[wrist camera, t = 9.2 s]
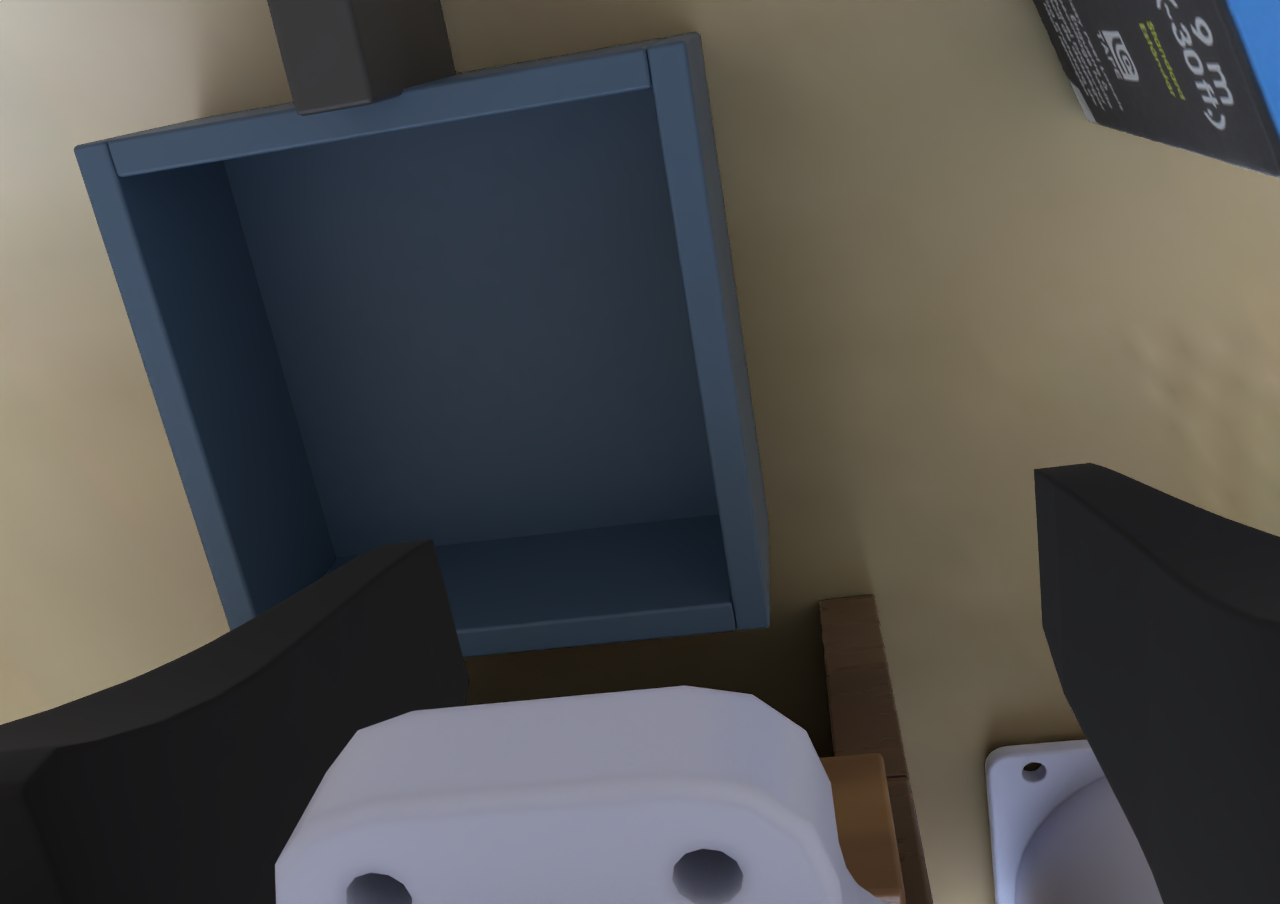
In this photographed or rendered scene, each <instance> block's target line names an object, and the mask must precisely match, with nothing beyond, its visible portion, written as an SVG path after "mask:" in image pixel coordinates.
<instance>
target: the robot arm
mask: <svg viewBox="0 0 1280 904" xmlns="http://www.w3.org/2000/svg"><path fill="white" fill-rule="evenodd" d="M1034 478H1035V496H1036V515H1037V533H1038V551H1039V569H1040V587H1041V606H1042V624H1043V629H1044V632H1045V635H1046V639H1047V642H1048V645H1049V648H1050V652H1051V655H1052V658H1053V661H1054V664H1055V667H1056V670H1057V673H1058V676H1059V679H1060V682H1061V685H1062V688H1063V691H1064V694H1065V696H1066V698H1067V700H1068V702H1069V704H1070V706H1071V709H1072V711H1073V713H1074V715H1075V717H1076V719H1077V721H1078V723H1079V725H1080V727H1081V729H1082V731H1083V733H1084V735H1085V737H1086V739H1085V740H1072V741H1060V742H1048V743H1036V744H1024V745H1012V746H1004V747H1000V748H997V749H995V750H994V751H992V752H991V753H990V754H989V756H988V757H987V759H986V762H985V775H986V788H987V800H988V813H989V826H990V839H991V852H992V864H993V877H994V890H995V903H996V904H1280V537H1278V536H1275V535H1272V534H1269V533H1266V532H1263V531H1260V530H1258V529H1255V528H1252V527H1249V526H1246V525H1243V524H1241V523H1238V522H1235V521H1232V520H1229V519H1227V518H1224V517H1222V516H1219V515H1216V514H1214V513H1211V512H1209V511H1206V510H1204V509H1201V508H1199V507H1196V506H1194V505H1192V504H1189V503H1187V502H1185V501H1182V500H1180V499H1178V498H1175V497H1173V496H1171V495H1168V494H1166V493H1164V492H1161V491H1159V490H1157V489H1155V488H1152V487H1150V486H1148V485H1146V484H1143V483H1141V482H1139V481H1137V480H1134V479H1132V478H1130V477H1127V476H1125V475H1123V474H1120V473H1118V472H1116V471H1113V470H1111V469H1108V468H1105V467H1102V466H1099V465H1096V464H1092V463H1085V464H1077V465H1068V466H1059V467H1051V468H1042V469H1034ZM468 685H469V679H468V675H467V671H466V667H465V663H464V659H463V655H462V651H461V647H460V643H459V639H458V636H457V632H456V628H455V624H454V620H453V616H452V612H451V608H450V604H449V600H448V596H447V592H446V588H445V584H444V580H443V576H442V572H441V568H440V564H439V560H438V556H437V553H436V549H435V545H434V541H433V539H429V540H420V541H411V542H403V543H394V544H386V545H383V546H381V547H378V548H375V549H373V550H371V551H368V552H366V553H364V554H363V555H361V556H359V557H357V558H355V559H353V560H351V561H349V562H348V563H346V564H344V565H343V566H341V567H339V568H337V569H336V570H334V571H332V572H331V573H329V574H327V575H326V576H324V577H322V578H321V579H319V580H317V581H316V582H314V583H312V584H311V585H309V586H307V587H306V588H304V589H302V590H301V591H299V592H297V593H296V594H294V595H293V596H291V597H289V598H288V599H286V600H284V601H283V602H281V603H279V604H278V605H276V606H274V607H273V608H271V609H269V610H267V611H265V612H264V613H262V614H260V615H258V616H257V617H255V618H253V619H251V620H249V621H248V622H246V623H244V624H242V625H241V626H239V627H237V628H235V629H233V630H232V631H230V632H228V633H226V634H225V635H223V636H221V637H219V638H217V639H216V640H214V641H212V642H210V643H208V644H206V645H204V646H202V647H200V648H198V649H196V650H194V651H192V652H190V653H188V654H186V655H184V656H182V657H180V658H178V659H176V660H174V661H171V662H169V663H167V664H165V665H163V666H160V667H158V668H156V669H154V670H151V671H149V672H147V673H145V674H143V675H140V676H138V677H136V678H133V679H131V680H128V681H126V682H124V683H121V684H118V685H116V686H113V687H110V688H107V689H105V690H102V691H99V692H97V693H94V694H91V695H88V696H86V697H83V698H80V699H78V700H75V701H72V702H70V703H67V704H64V705H61V706H59V707H56V708H53V709H50V710H47V711H44V712H41V713H38V714H35V715H31V716H28V717H25V718H22V719H18V720H15V721H12V722H9V723H5V724H2V725H0V904H895V903H890V902H885V901H882V900H880V899H878V898H876V897H875V896H873V895H872V894H871V893H869V892H868V891H866V890H865V889H863V888H862V887H861V886H859V885H858V884H857V883H856V882H855V880H854V878H853V877H852V875H851V874H850V872H849V871H848V869H847V868H846V865H845V861H844V858H843V855H842V851H841V848H840V845H839V841H838V833H837V826H836V818H835V811H834V803H833V796H832V788H831V782H830V780H829V778H828V776H827V774H826V772H825V770H824V767H823V765H822V763H821V761H820V759H819V757H818V755H817V753H816V751H815V748H814V746H813V744H812V742H811V740H810V738H809V736H808V734H807V731H806V730H804V729H803V728H801V727H800V726H798V725H797V724H795V723H794V722H793V721H791V720H790V719H788V718H787V717H785V716H784V715H782V714H781V713H779V712H778V711H776V710H775V709H773V708H772V707H770V706H769V705H767V704H766V703H764V702H763V701H761V700H760V699H758V698H757V697H755V696H754V695H753V694H745V693H738V692H730V691H723V690H715V689H708V688H700V687H693V686H674V687H663V688H653V689H642V690H631V691H620V692H610V693H599V694H588V695H578V696H567V697H556V698H545V699H535V700H524V701H513V702H503V703H492V704H481V705H470V706H464V704H465V700H466V695H467V690H468ZM1033 762H1035V763H1040V764H1042V765H1041V766H1040V767H1039V768H1038V769H1037V770H1034V771H1024V770H1023V768H1024V767H1025V766H1026V765H1027V764H1029V763H1033Z"/></svg>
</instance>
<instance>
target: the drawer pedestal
mask: <svg viewBox="0 0 1280 904" xmlns="http://www.w3.org/2000/svg"><path fill="white" fill-rule="evenodd" d="M819 607H820V617H821V627H822V638H823V648H824V658H825V669H826V679H827V689H828V699H829V710H830V720H831V730H832V741H833V751H834V757H822V758H819V759H820V761H821V763H822V765H823V767H824V770H825V772H826V774H827V776H828V778H829V780H830V782H831V788H832V796H833V803H834V811H835V818H836V826H837V833H838V841H839V845H840V848H841V851H842V855H843V858H844V861H845V865H846V868H847V869H848V871H849V872H850V874H851V875H852V877H853V878H854V880H855V882H856V883H857V884H858V885H859V886H861V887H862V888H863V889H865V890H866V891H868V892H869V893H871V894H872V895H873V896H875V897H876V898H878V899H880V900H882V901H885V902H890V903H895V904H933V901H932V895H931V890H930V885H929V880H928V874H927V869H926V864H925V859H924V853H923V848H922V843H921V838H920V832H919V827H918V822H917V816H916V811H915V806H914V801H913V795H912V790H911V785H910V781H909V773H908V768H907V763H906V758H905V752H904V747H903V742H902V737H901V731H900V726H899V721H898V716H897V710H896V705H895V700H894V695H893V689H892V684H891V679H890V674H889V668H888V663H887V658H886V653H885V647H884V642H883V637H882V632H881V626H880V621H879V616H878V611H877V606H876V600H875V596H874V595H868V596H858V597H848V598H839V599H829V600H821V601H820V602H819Z"/></svg>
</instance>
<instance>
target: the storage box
mask: <svg viewBox="0 0 1280 904" xmlns="http://www.w3.org/2000/svg"><path fill="white" fill-rule="evenodd" d="M267 2H268V5H269V9H270V13H271V17H272V21H273V25H274V29H275V33H276V36H277V40H278V44H279V48H280V52H281V56H282V60H283V63H284V67H285V71H286V75H287V79H288V83H289V87H290V90H291V94H292V98H293V102H291V103H286V104H280V105H274V106H269V107H263V108H257V109H251V110H246V111H240V112H234V113H228V114H223V115H217V116H211V117H206V118H200V119H195V120H190V121H186V122H181V123H177V124H172V125H168V126H163V127H159V128H154V129H150V130H145V131H140V132H136V133H131V134H127V135H122V136H118V137H113V138H109V139H104V140H100V141H95V142H91V143H86V144H82V145H77V146H76V147H75V148H74V152H75V155H76V158H77V161H78V164H79V167H80V171H81V174H82V177H83V180H84V183H85V186H86V189H87V192H88V195H89V198H90V201H91V204H92V207H93V210H94V213H95V217H96V220H97V223H98V226H99V229H100V232H101V235H102V238H103V241H104V244H105V247H106V250H107V253H108V256H109V259H110V262H111V266H112V269H113V272H114V275H115V278H116V281H117V284H118V287H119V290H120V293H121V296H122V299H123V302H124V305H125V308H126V311H127V315H128V318H129V321H130V324H131V327H132V330H133V333H134V336H135V339H136V342H137V345H138V348H139V351H140V354H141V357H142V360H143V364H144V367H145V370H146V373H147V376H148V379H149V382H150V385H151V388H152V391H153V394H154V397H155V400H156V403H157V406H158V410H159V413H160V416H161V419H162V422H163V425H164V428H165V431H166V434H167V437H168V440H169V443H170V446H171V449H172V452H173V455H174V459H175V462H176V465H177V468H178V471H179V474H180V477H181V480H182V483H183V486H184V489H185V492H186V495H187V498H188V501H189V504H190V508H191V511H192V514H193V517H194V520H195V523H196V526H197V529H198V532H199V535H200V538H201V541H202V544H203V547H204V550H205V553H206V557H207V560H208V563H209V566H210V569H211V572H212V575H213V578H214V581H215V584H216V587H217V590H218V593H219V596H220V599H221V603H222V606H223V609H224V612H225V615H226V618H227V621H228V624H229V627H230V630H231V631H232V630H233V629H235V628H237V627H239V626H241V625H242V624H244V623H246V622H248V621H249V620H251V619H253V618H255V617H257V616H258V615H260V614H262V613H264V612H265V611H267V610H269V609H271V608H273V607H274V606H276V605H278V604H279V603H281V602H283V601H284V600H286V599H288V598H289V597H291V596H293V595H294V594H296V593H297V592H299V591H301V590H302V589H304V588H306V587H307V586H309V585H311V584H312V583H314V582H316V581H317V580H319V579H321V578H322V577H324V576H326V575H327V574H329V573H331V572H332V571H334V570H336V569H337V568H339V567H341V566H343V565H344V564H346V563H348V562H349V561H351V560H353V559H355V558H357V557H359V556H361V555H363V554H364V553H366V552H368V551H371V550H373V549H375V548H378V547H381V546H383V545H386V544H394V543H403V542H411V541H420V540H429V539H433V541H434V545H435V549H436V553H437V556H438V560H439V564H440V568H441V572H442V576H443V580H444V584H445V588H446V592H447V596H448V600H449V604H450V608H451V612H452V616H453V620H454V624H455V628H456V632H457V636H458V639H459V643H460V647H461V651H462V655H463V658H465V657H475V656H485V655H495V654H505V653H516V652H526V651H536V650H546V649H556V648H567V647H577V646H587V645H597V644H608V643H618V642H628V641H638V640H648V639H659V638H669V637H679V636H689V635H699V634H710V633H720V632H730V631H735V630H736V627H737V628H738V630H751V629H761V628H768V627H769V626H770V582H769V521H768V514H767V507H766V500H765V493H764V486H763V478H762V471H761V464H760V457H759V450H758V443H757V436H756V429H755V421H754V414H753V407H752V400H751V393H750V386H749V379H748V371H747V364H746V357H745V350H744V343H743V336H742V329H741V322H740V314H739V307H738V300H737V293H736V286H735V279H734V272H733V264H732V257H731V250H730V243H729V236H728V229H727V222H726V215H725V207H724V200H723V193H722V186H721V179H720V172H719V165H718V157H717V150H716V143H715V136H714V129H713V122H712V115H711V108H710V100H709V93H708V86H707V79H706V72H705V65H704V58H703V50H702V43H701V36H700V34H699V33H698V32H692V33H687V34H681V35H675V36H669V37H664V38H658V39H652V40H646V41H641V42H635V43H629V44H624V45H618V46H612V47H606V48H601V49H595V50H589V51H583V52H578V53H572V54H566V55H561V56H555V57H549V58H543V59H538V60H532V61H526V62H521V63H515V64H509V65H503V66H498V67H492V68H486V69H480V70H475V71H469V72H463V73H458V74H456V73H455V68H454V64H453V59H452V54H451V49H450V45H449V40H448V35H447V30H446V26H445V21H444V16H443V11H442V7H441V2H440V0H267Z"/></svg>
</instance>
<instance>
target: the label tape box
mask: <svg viewBox="0 0 1280 904" xmlns="http://www.w3.org/2000/svg"><path fill="white" fill-rule="evenodd" d="M1033 1H1034V3H1035V6H1036V8H1037V10H1038V13H1039V15H1040V17H1041V20H1042V22H1043V24H1044V26H1045V28H1046V30H1047V32H1048V35H1049V37H1050V40H1051V42H1052V44H1053V46H1054V48H1055V50H1056V53H1057V55H1058V58H1059V60H1060V62H1061V64H1062V67H1063V70H1064V72H1065V73H1066V75H1067V77H1068V79H1069V81H1070V83H1071V85H1072V87H1073V90H1074V92H1075V94H1076V96H1077V99H1078V101H1079V103H1080V105H1081V107H1082V109H1083V112H1084V114H1085V116H1086V119H1087V120H1088V121H1090V122H1093V123H1096V124H1099V125H1102V126H1106V127H1109V128H1113V129H1116V130H1119V131H1122V132H1126V133H1129V134H1133V135H1136V136H1140V137H1144V138H1147V139H1150V140H1152V141H1156V142H1160V143H1163V144H1166V145H1169V146H1172V147H1176V148H1181V149H1185V150H1188V151H1191V152H1194V153H1197V154H1200V155H1204V156H1207V157H1210V158H1214V159H1217V160H1221V161H1224V162H1226V163H1229V164H1233V165H1236V166H1240V167H1243V168H1247V169H1251V170H1254V171H1258V172H1261V173H1264V174H1266V175H1270V176H1274V177H1278V178H1280V0H1033Z"/></svg>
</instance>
